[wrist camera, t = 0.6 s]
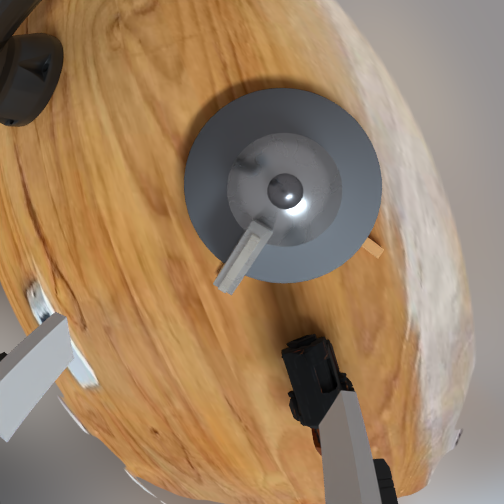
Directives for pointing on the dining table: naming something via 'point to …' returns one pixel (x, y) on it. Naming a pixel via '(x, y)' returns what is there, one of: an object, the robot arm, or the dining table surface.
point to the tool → (313, 381)
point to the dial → (278, 199)
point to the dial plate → (296, 122)
